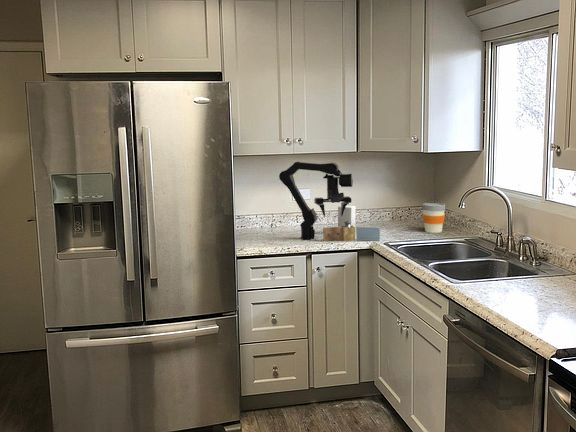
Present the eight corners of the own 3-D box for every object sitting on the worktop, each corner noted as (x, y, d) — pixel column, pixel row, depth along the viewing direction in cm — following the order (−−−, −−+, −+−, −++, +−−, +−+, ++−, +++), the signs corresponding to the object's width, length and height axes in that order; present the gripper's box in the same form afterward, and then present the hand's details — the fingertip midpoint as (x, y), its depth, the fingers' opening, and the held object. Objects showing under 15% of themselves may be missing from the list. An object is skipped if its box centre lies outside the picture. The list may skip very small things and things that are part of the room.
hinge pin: (345, 240, 322) (345, 222, 320) (343, 239, 325) (343, 221, 324) (352, 240, 322) (352, 222, 321) (350, 239, 326) (350, 220, 324)
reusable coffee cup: (440, 233, 333) (440, 206, 331) (418, 232, 340) (418, 205, 338) (448, 230, 344) (448, 203, 341) (426, 228, 351) (427, 202, 348)
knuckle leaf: (324, 242, 319) (324, 228, 318) (322, 239, 325) (322, 226, 324) (355, 240, 321) (354, 227, 320) (352, 238, 327) (352, 225, 326)
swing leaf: (356, 239, 322) (356, 227, 321) (356, 239, 323) (356, 226, 322) (379, 240, 318) (379, 227, 317) (379, 240, 319) (379, 227, 318)
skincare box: (337, 234, 339) (336, 206, 336) (342, 232, 345) (341, 205, 342) (351, 235, 335) (351, 207, 333) (356, 233, 341) (355, 205, 338)
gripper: (317, 189, 313) (318, 219, 316) (353, 187, 316) (354, 218, 318) (313, 187, 324) (314, 216, 327) (348, 185, 327) (349, 214, 329)
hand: (333, 216), depth 325 cm, fingers open, 9 cm apart
